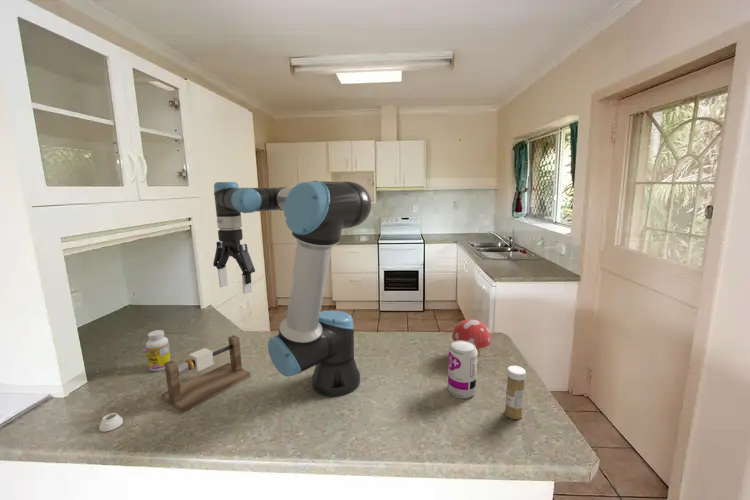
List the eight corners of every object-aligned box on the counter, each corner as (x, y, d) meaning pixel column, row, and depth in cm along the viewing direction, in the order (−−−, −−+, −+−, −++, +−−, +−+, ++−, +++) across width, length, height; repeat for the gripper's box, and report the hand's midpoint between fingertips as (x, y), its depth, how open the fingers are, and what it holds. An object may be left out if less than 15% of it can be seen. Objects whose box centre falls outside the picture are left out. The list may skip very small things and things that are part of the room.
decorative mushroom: (469, 373, 114) (471, 331, 111) (443, 356, 126) (444, 317, 123) (498, 363, 120) (500, 323, 118) (471, 348, 132) (472, 311, 129)
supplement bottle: (144, 369, 119) (139, 334, 116) (163, 360, 125) (159, 327, 122) (157, 373, 116) (152, 338, 114) (175, 364, 122) (171, 330, 120)
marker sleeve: (213, 364, 106) (212, 351, 106) (197, 371, 102) (196, 357, 102) (206, 360, 109) (205, 347, 108) (190, 367, 105) (189, 354, 104)
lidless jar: (124, 426, 91) (122, 417, 94) (122, 416, 90) (120, 407, 94) (100, 435, 87) (99, 425, 91) (98, 425, 87) (97, 415, 91)
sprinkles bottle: (501, 409, 96) (504, 365, 93) (517, 408, 96) (520, 364, 94) (509, 420, 91) (512, 374, 89) (525, 419, 92) (529, 373, 89)
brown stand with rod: (250, 376, 114) (247, 340, 111) (183, 412, 96) (177, 370, 93) (229, 366, 120) (225, 332, 118) (162, 398, 102) (156, 359, 100)
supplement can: (456, 402, 99) (457, 353, 97) (443, 386, 107) (444, 341, 104) (480, 397, 102) (483, 350, 99) (466, 382, 109) (468, 338, 107)
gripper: (198, 227, 119) (205, 286, 123) (243, 232, 106) (248, 298, 109) (218, 225, 125) (224, 281, 129) (263, 229, 112) (267, 292, 116)
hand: (235, 289), depth 119 cm, fingers open, 13 cm apart
